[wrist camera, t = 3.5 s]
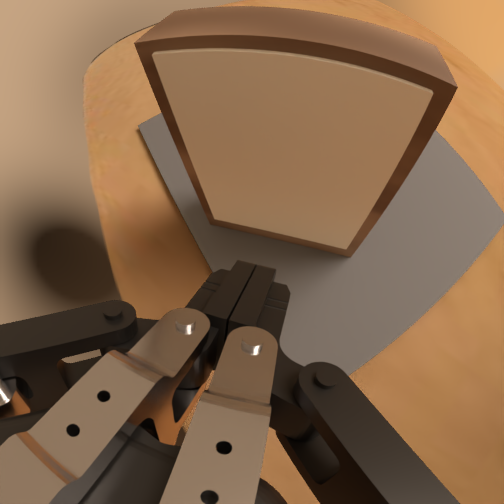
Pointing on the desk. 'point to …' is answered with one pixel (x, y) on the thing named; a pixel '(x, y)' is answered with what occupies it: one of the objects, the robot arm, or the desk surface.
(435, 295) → the desk mat
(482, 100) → the desk surface
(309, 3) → the desk surface
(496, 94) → the desk surface
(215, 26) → the walnut picture frame
